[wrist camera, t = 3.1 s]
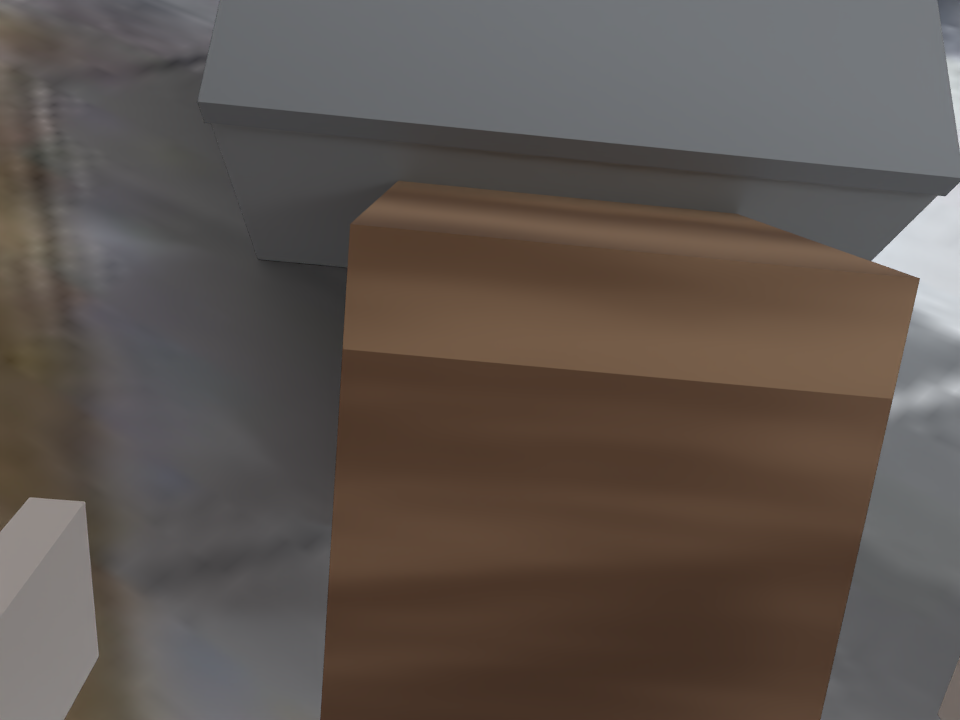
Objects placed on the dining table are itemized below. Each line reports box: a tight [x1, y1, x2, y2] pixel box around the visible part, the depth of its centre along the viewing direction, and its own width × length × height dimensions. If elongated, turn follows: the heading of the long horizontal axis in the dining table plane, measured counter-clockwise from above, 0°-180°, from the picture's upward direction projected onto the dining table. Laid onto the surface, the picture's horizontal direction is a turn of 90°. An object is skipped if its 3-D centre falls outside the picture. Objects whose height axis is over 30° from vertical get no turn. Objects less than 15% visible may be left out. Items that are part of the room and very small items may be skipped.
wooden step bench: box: [320, 181, 920, 720], centre depth 20 cm, size 13×9×13 cm
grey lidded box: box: [197, 0, 960, 267], centre depth 27 cm, size 10×18×8 cm, turn 86°
